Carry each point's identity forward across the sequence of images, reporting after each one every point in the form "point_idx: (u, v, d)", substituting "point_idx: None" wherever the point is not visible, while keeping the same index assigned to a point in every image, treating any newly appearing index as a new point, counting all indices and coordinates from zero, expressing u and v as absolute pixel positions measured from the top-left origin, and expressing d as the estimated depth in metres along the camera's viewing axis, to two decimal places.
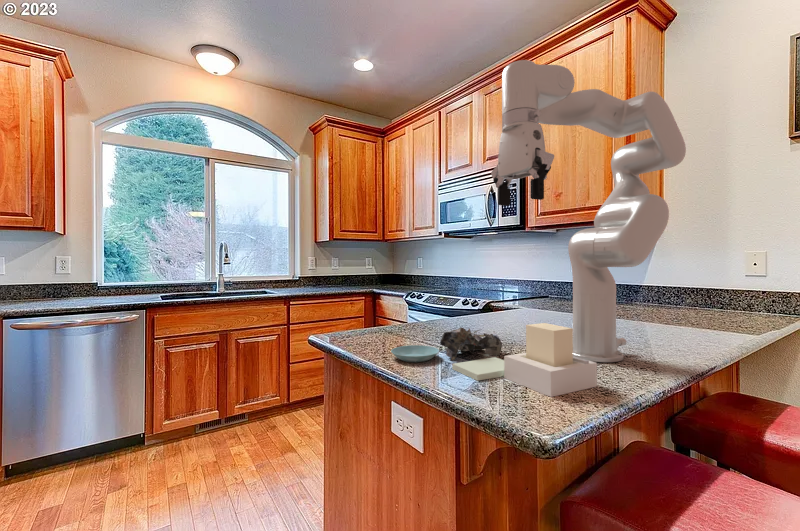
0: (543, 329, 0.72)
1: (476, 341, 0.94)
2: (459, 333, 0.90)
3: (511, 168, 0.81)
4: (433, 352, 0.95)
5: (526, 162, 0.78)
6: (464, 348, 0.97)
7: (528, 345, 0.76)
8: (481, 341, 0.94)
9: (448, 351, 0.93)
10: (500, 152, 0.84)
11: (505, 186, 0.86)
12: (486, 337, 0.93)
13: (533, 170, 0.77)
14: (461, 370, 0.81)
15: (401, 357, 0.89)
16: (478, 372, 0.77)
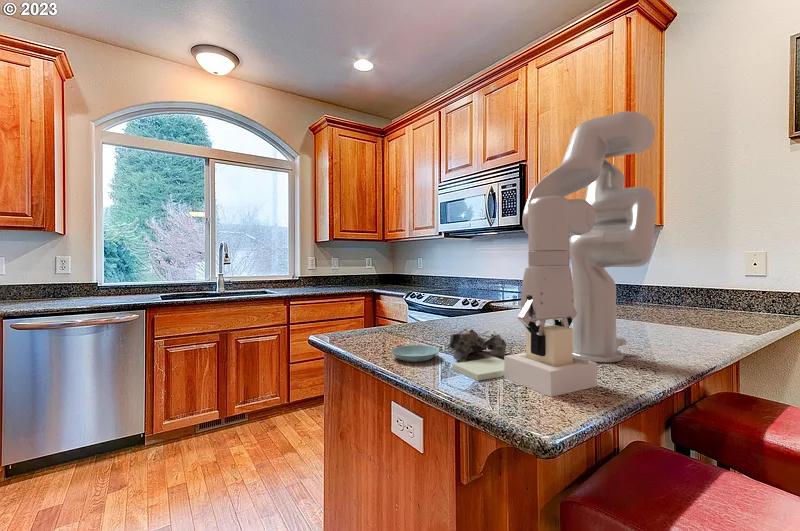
0: None
1: (482, 342, 0.93)
2: (469, 335, 0.88)
3: (556, 312, 0.72)
4: (433, 352, 0.95)
5: (571, 309, 0.74)
6: None
7: (528, 345, 0.76)
8: (487, 342, 0.93)
9: (456, 354, 0.90)
10: (543, 291, 0.71)
11: None
12: (493, 337, 0.92)
13: (567, 323, 0.75)
14: (461, 370, 0.81)
15: (401, 357, 0.89)
16: (478, 372, 0.77)
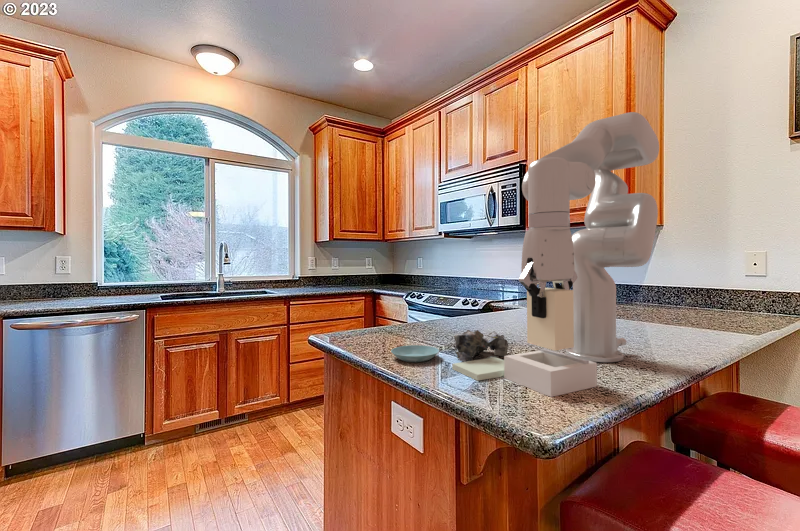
0: None
1: (485, 343, 0.92)
2: (475, 336, 0.87)
3: (557, 274, 0.72)
4: (433, 352, 0.95)
5: (572, 271, 0.74)
6: None
7: (529, 309, 0.76)
8: (491, 343, 0.92)
9: (461, 355, 0.89)
10: (544, 252, 0.71)
11: None
12: (497, 338, 0.91)
13: (567, 285, 0.75)
14: (461, 370, 0.81)
15: (401, 357, 0.89)
16: (478, 372, 0.77)
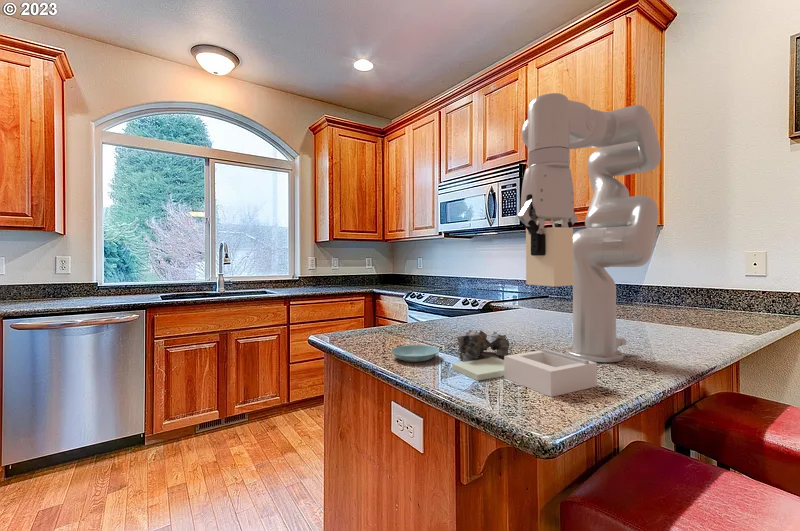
0: None
1: (487, 343, 0.92)
2: (479, 336, 0.87)
3: (556, 211, 0.72)
4: (433, 352, 0.95)
5: (571, 211, 0.74)
6: None
7: (528, 249, 0.76)
8: (493, 343, 0.92)
9: (464, 356, 0.88)
10: (543, 187, 0.70)
11: None
12: (499, 338, 0.91)
13: (567, 225, 0.74)
14: (461, 370, 0.81)
15: (401, 357, 0.89)
16: (478, 372, 0.77)
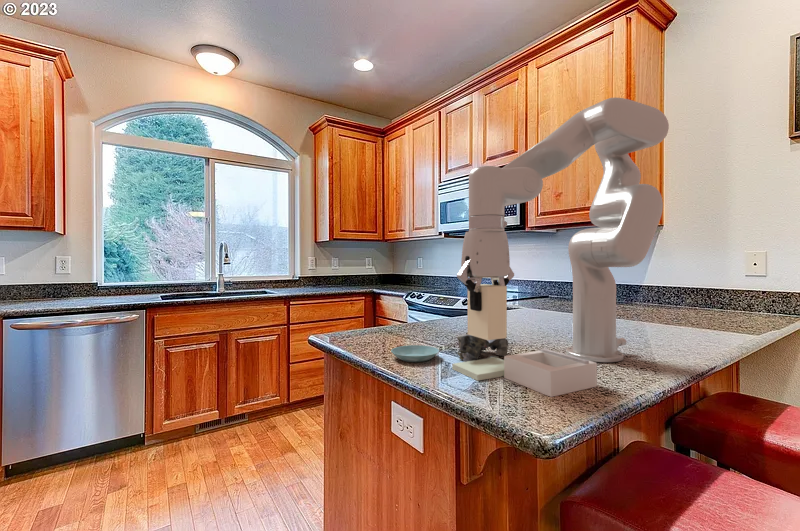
0: (480, 287, 0.80)
1: (487, 343, 0.92)
2: None
3: (491, 271, 0.80)
4: (433, 352, 0.95)
5: (507, 269, 0.82)
6: None
7: (469, 303, 0.83)
8: (493, 342, 0.92)
9: (465, 356, 0.88)
10: (479, 251, 0.78)
11: None
12: None
13: (503, 282, 0.82)
14: (461, 370, 0.81)
15: (401, 357, 0.89)
16: (478, 372, 0.77)
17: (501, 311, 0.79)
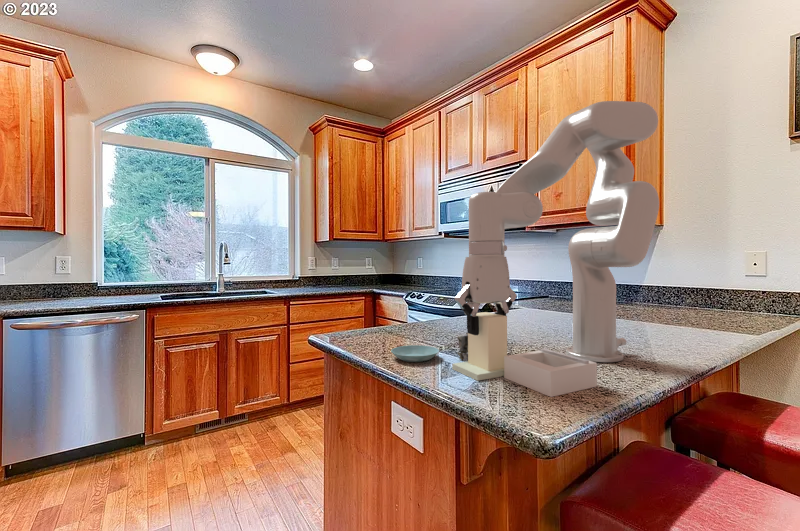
0: (480, 317, 0.80)
1: None
2: None
3: (492, 297, 0.80)
4: (433, 352, 0.95)
5: (507, 294, 0.82)
6: None
7: None
8: None
9: (465, 356, 0.88)
10: (479, 277, 0.78)
11: None
12: None
13: (506, 305, 0.83)
14: (461, 370, 0.81)
15: (401, 357, 0.89)
16: (478, 372, 0.77)
17: (501, 341, 0.80)
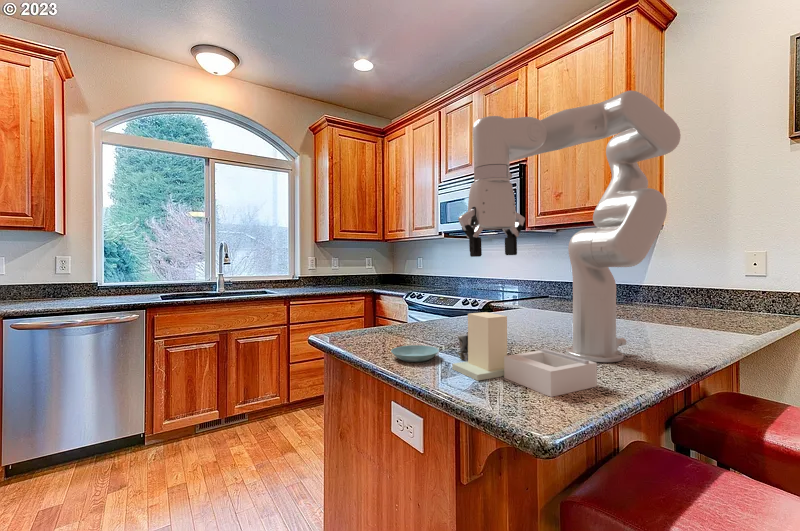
0: (480, 317, 0.80)
1: None
2: None
3: (498, 221, 0.80)
4: (433, 352, 0.95)
5: (513, 220, 0.82)
6: None
7: (469, 332, 0.84)
8: None
9: (466, 356, 0.88)
10: (485, 201, 0.79)
11: None
12: None
13: (515, 229, 0.83)
14: (461, 370, 0.81)
15: (401, 357, 0.89)
16: (478, 372, 0.77)
17: (501, 341, 0.80)
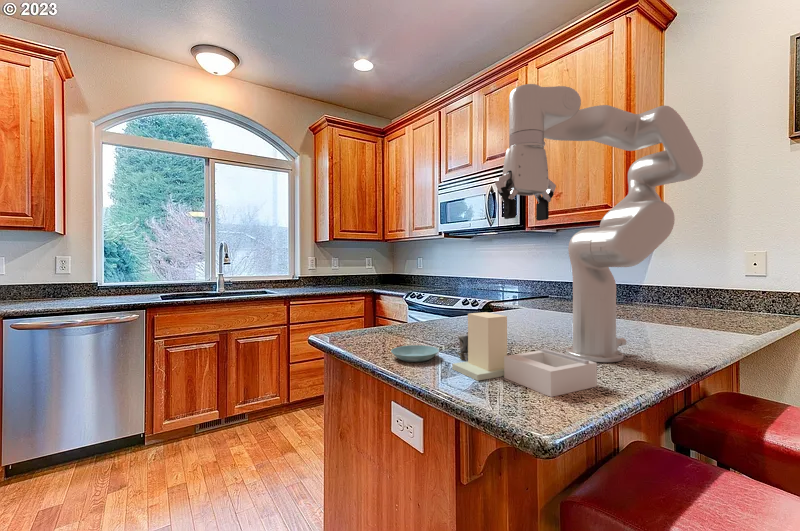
0: (480, 317, 0.80)
1: None
2: None
3: (532, 185, 0.84)
4: (433, 352, 0.95)
5: (546, 185, 0.86)
6: None
7: (469, 332, 0.84)
8: None
9: (467, 356, 0.88)
10: (521, 164, 0.82)
11: None
12: None
13: (547, 194, 0.87)
14: (461, 370, 0.81)
15: (401, 357, 0.89)
16: (478, 372, 0.77)
17: (501, 341, 0.80)
